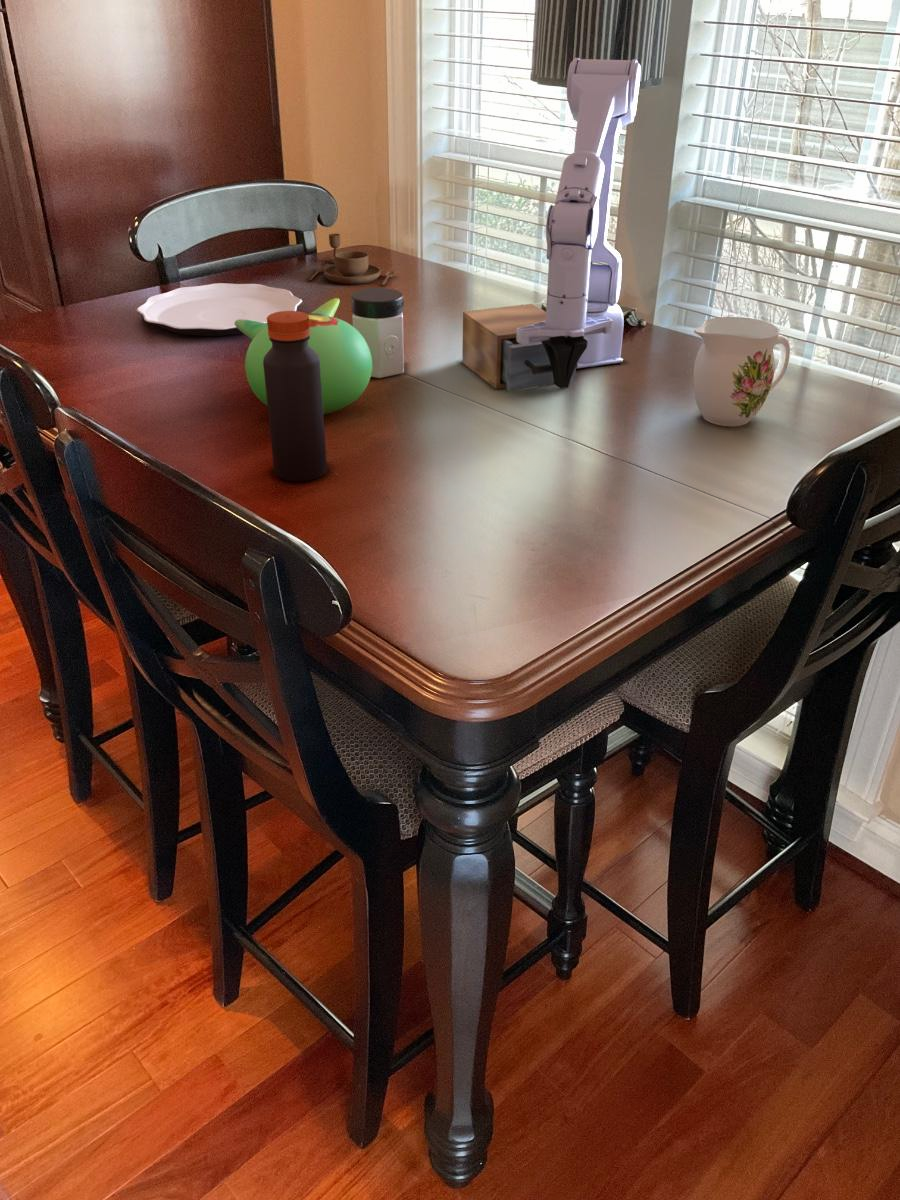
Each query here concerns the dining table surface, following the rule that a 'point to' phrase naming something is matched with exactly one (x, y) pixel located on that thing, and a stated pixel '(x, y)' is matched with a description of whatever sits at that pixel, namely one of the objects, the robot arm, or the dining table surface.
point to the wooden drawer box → (493, 337)
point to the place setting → (350, 266)
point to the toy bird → (337, 350)
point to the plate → (215, 307)
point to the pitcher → (736, 368)
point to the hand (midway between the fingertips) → (561, 385)
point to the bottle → (294, 399)
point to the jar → (381, 328)
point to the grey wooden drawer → (526, 365)
